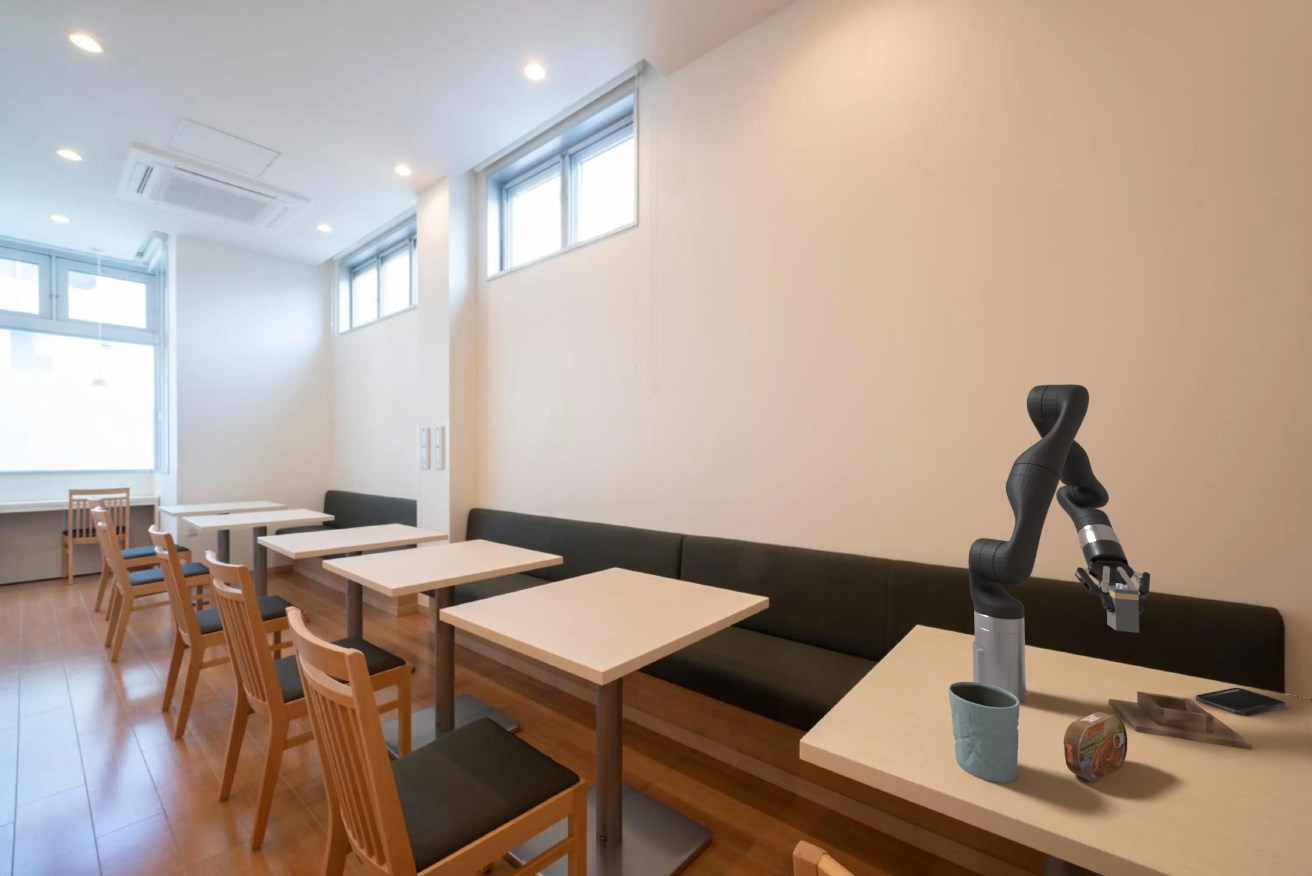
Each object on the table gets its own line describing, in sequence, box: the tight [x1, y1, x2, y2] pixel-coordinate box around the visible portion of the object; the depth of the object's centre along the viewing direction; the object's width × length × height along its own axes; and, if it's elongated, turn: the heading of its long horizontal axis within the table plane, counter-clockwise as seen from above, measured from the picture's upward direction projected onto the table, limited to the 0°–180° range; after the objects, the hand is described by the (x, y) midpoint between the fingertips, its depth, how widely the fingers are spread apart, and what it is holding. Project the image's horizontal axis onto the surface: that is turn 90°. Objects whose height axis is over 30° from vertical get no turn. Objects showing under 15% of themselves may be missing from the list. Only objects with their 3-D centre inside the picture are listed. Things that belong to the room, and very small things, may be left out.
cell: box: [1106, 583, 1140, 633], centre depth 116 cm, size 4×5×10 cm
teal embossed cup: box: [947, 681, 1021, 784], centre depth 87 cm, size 10×10×12 cm
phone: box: [1195, 687, 1287, 717], centre depth 110 cm, size 8×1×15 cm
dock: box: [1108, 690, 1252, 750], centre depth 101 cm, size 16×12×4 cm
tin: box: [1063, 711, 1128, 783], centre depth 86 cm, size 15×3×8 cm, turn 116°
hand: (1125, 611), depth 115 cm, fingers closed on cell, 4 cm apart
